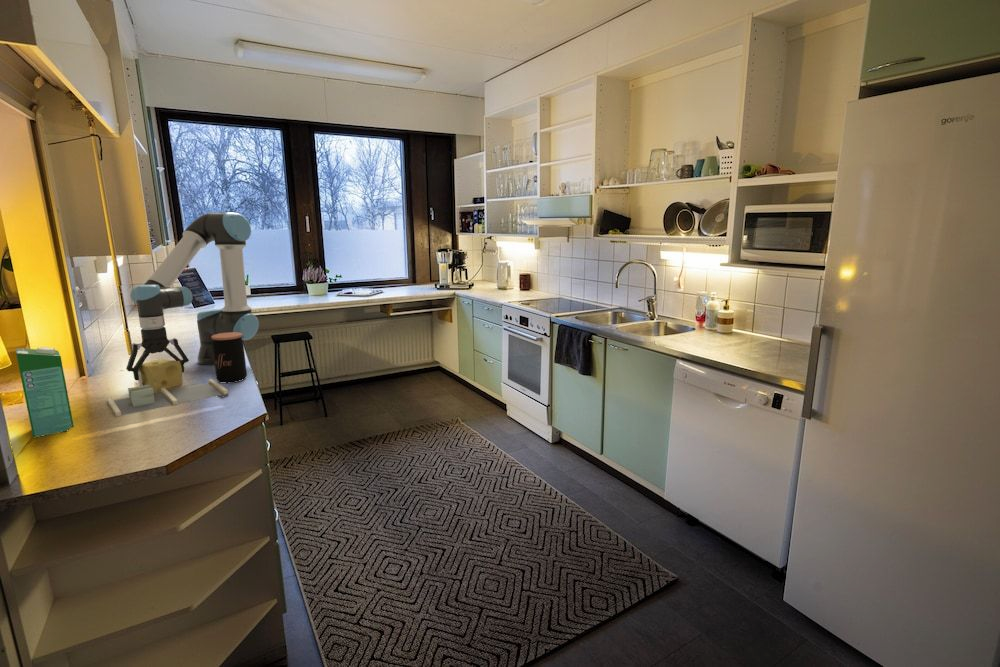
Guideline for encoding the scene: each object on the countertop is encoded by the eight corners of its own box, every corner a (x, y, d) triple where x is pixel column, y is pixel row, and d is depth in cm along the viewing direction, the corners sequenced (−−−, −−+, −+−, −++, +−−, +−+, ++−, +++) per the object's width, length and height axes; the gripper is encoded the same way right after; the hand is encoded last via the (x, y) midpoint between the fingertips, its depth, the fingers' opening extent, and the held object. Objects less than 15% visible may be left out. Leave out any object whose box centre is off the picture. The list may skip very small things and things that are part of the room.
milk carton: (74, 429, 150) (59, 347, 145) (33, 438, 144) (15, 353, 139) (71, 421, 156) (56, 342, 151) (31, 429, 150) (15, 347, 145)
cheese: (156, 394, 182) (151, 367, 180) (138, 390, 187) (134, 364, 184) (184, 386, 191) (181, 360, 189) (167, 382, 196) (163, 357, 194)
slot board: (108, 404, 172) (107, 398, 171) (212, 384, 193) (211, 378, 193) (117, 419, 158) (116, 412, 158) (228, 396, 180) (227, 390, 179)
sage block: (130, 402, 170) (127, 388, 169) (151, 398, 174) (149, 384, 173) (133, 407, 166) (131, 392, 165) (155, 402, 170) (152, 388, 169)
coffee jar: (210, 381, 197) (204, 336, 194) (235, 374, 206) (230, 331, 203) (228, 385, 192) (222, 338, 189) (253, 377, 202) (248, 333, 198)
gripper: (113, 333, 173) (123, 394, 178) (193, 324, 190) (200, 380, 194) (110, 330, 179) (120, 389, 183) (188, 321, 195) (195, 376, 199)
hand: (161, 384), depth 189 cm, fingers closed on cheese, 12 cm apart
